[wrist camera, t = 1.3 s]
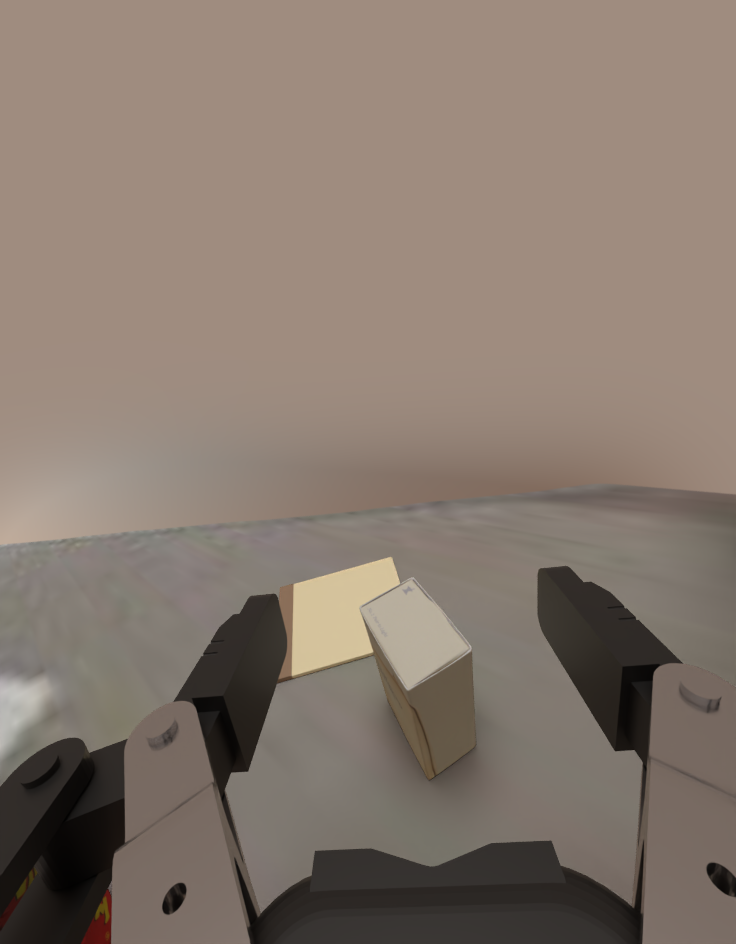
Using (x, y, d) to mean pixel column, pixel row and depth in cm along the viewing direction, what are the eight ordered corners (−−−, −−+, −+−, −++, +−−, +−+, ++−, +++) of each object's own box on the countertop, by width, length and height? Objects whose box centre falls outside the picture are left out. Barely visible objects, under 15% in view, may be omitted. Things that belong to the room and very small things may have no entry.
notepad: (392, 559, 42) (391, 556, 42) (418, 641, 32) (418, 638, 32) (281, 590, 41) (280, 587, 41) (275, 683, 32) (273, 680, 32)
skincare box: (386, 700, 29) (353, 605, 22) (431, 670, 30) (412, 573, 24) (430, 786, 24) (403, 693, 17) (482, 746, 25) (474, 647, 19)
